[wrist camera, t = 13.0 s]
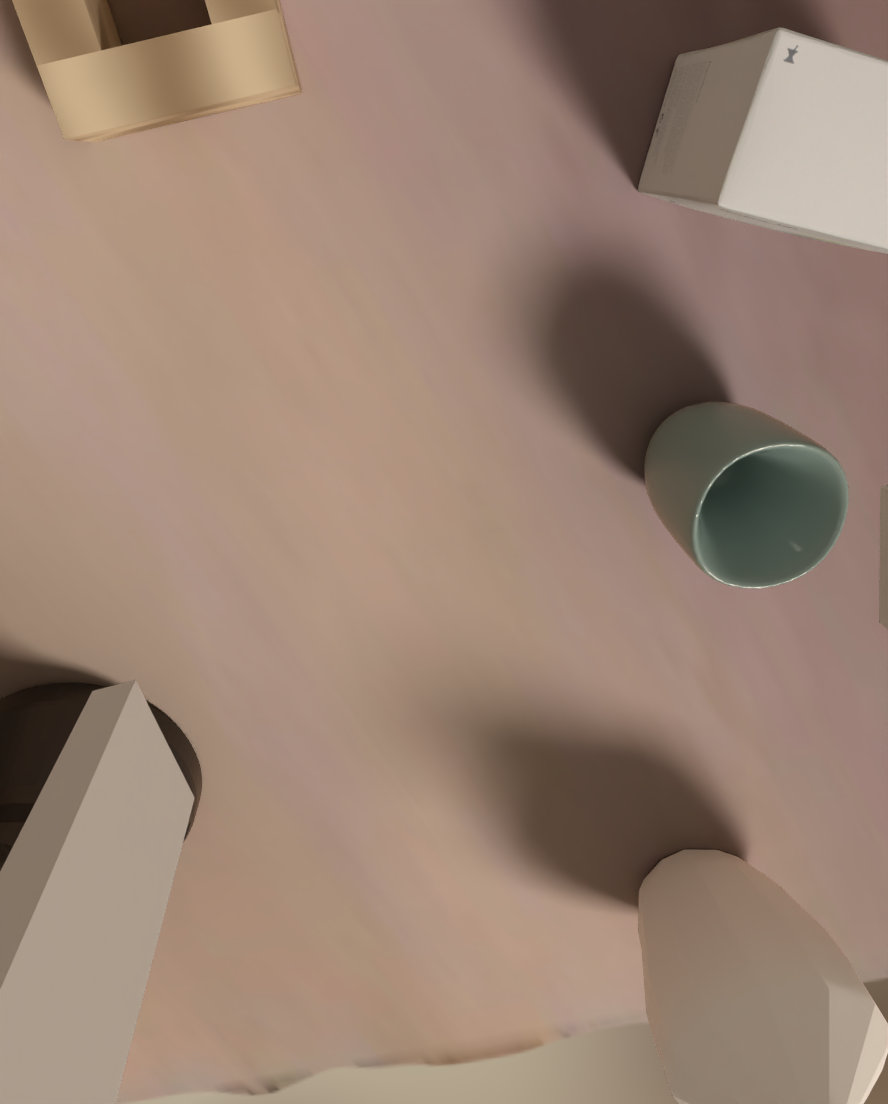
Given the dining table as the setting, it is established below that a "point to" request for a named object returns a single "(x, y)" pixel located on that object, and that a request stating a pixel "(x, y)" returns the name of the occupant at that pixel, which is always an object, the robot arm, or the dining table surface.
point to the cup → (745, 493)
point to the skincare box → (778, 138)
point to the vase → (750, 990)
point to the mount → (155, 65)
